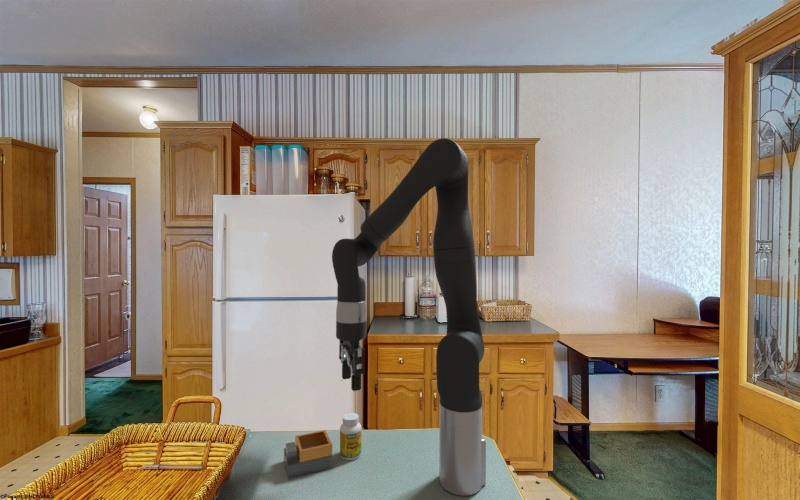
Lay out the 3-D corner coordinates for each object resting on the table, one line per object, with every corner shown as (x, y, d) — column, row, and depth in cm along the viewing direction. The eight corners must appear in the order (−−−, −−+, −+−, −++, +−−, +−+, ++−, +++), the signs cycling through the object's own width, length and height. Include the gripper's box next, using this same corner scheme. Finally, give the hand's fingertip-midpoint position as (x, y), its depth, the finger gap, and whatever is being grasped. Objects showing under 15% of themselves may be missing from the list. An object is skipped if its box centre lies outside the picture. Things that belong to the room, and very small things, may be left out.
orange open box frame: (325, 451, 90) (325, 429, 90) (332, 468, 83) (332, 444, 83) (283, 460, 86) (283, 438, 86) (287, 479, 79) (287, 454, 79)
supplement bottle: (355, 446, 92) (355, 409, 92) (365, 456, 88) (365, 417, 88) (336, 453, 89) (336, 414, 89) (345, 463, 85) (345, 423, 85)
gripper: (375, 322, 84) (375, 392, 84) (357, 313, 97) (356, 373, 97) (344, 325, 81) (343, 397, 81) (329, 315, 94) (329, 377, 94)
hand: (351, 384), depth 89 cm, fingers open, 8 cm apart
